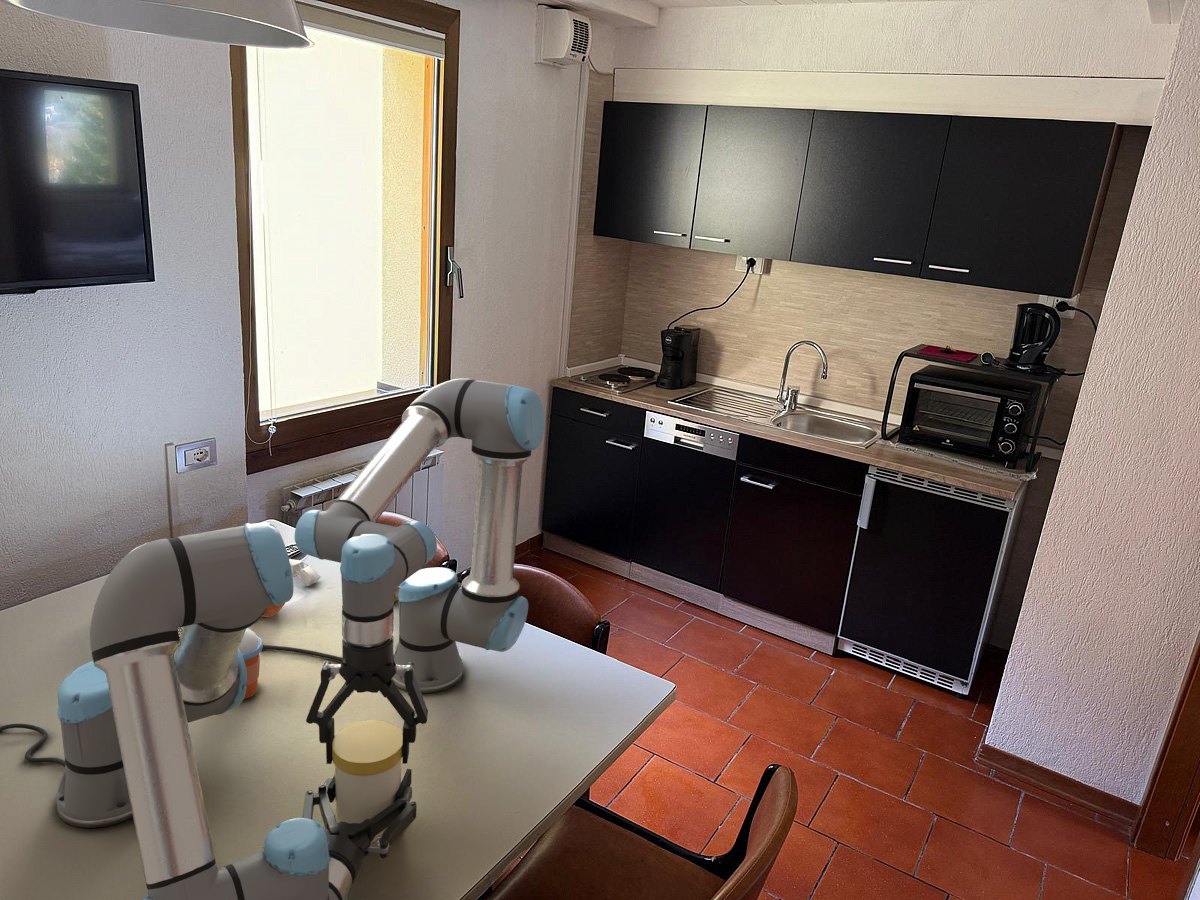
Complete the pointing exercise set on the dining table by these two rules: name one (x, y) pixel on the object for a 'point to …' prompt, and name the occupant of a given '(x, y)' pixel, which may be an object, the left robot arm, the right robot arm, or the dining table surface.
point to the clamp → (304, 572)
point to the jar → (365, 794)
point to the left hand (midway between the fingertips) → (376, 772)
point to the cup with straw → (251, 660)
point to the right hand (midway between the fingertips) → (368, 758)
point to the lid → (367, 747)
